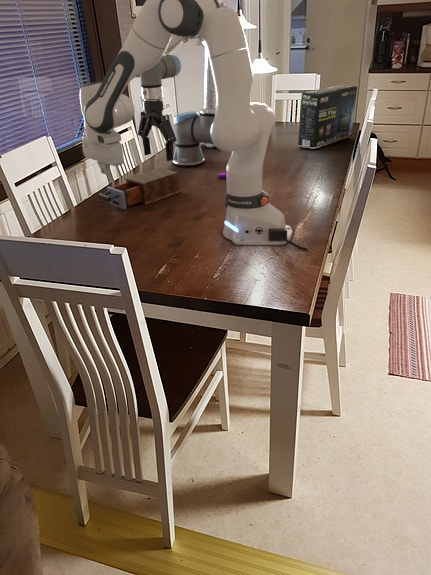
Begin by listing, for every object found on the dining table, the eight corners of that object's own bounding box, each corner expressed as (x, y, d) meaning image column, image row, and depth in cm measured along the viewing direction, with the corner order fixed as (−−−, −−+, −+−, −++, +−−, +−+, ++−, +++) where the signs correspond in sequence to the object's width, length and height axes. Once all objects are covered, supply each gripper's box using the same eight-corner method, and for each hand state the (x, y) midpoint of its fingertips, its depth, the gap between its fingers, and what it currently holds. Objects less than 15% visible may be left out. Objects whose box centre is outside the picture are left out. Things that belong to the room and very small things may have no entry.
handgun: (217, 176, 201) (217, 172, 200) (234, 175, 202) (234, 170, 201) (227, 191, 184) (227, 187, 183) (245, 189, 185) (245, 185, 184)
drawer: (111, 213, 166) (109, 196, 163) (97, 207, 172) (94, 190, 169) (158, 197, 179) (156, 181, 176) (142, 192, 185) (141, 176, 182)
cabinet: (145, 204, 175) (142, 183, 171) (128, 198, 182) (125, 178, 177) (179, 192, 186) (178, 172, 181) (162, 187, 192) (160, 167, 188)
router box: (314, 151, 231) (318, 94, 217) (296, 148, 237) (299, 92, 224) (352, 138, 251) (358, 85, 238) (335, 135, 258) (340, 83, 245)
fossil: (221, 143, 236) (202, 124, 239) (211, 160, 243) (192, 142, 246) (239, 141, 250) (220, 124, 253) (228, 158, 256) (210, 140, 260)
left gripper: (124, 97, 173) (131, 154, 184) (167, 104, 158) (172, 165, 169) (140, 95, 178) (146, 150, 189) (183, 100, 162) (187, 160, 173)
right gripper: (74, 131, 161) (82, 170, 169) (108, 140, 149) (114, 181, 156) (90, 128, 165) (96, 166, 172) (124, 136, 153) (129, 176, 160)
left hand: (158, 157), depth 179 cm, fingers open, 13 cm apart
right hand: (105, 173), depth 164 cm, fingers closed
